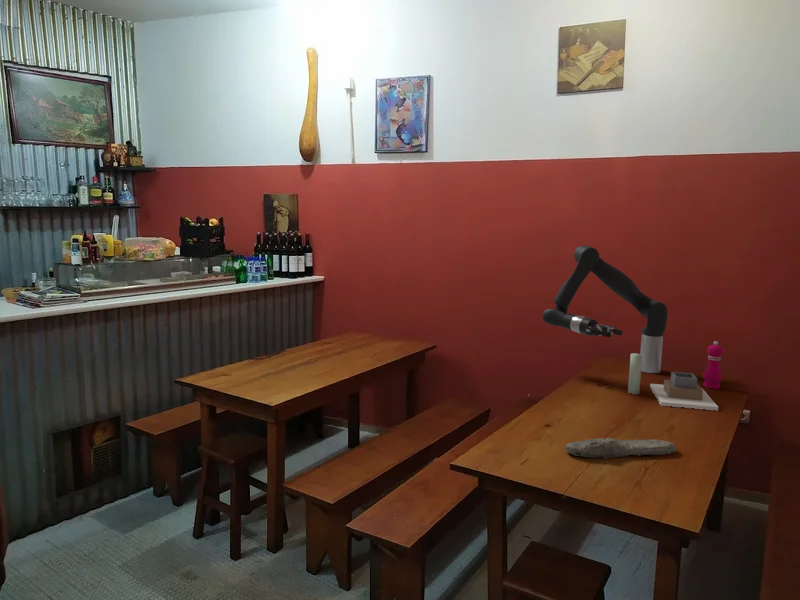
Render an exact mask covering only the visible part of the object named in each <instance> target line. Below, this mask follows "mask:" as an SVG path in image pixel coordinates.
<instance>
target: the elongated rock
mask: <svg viewBox="0 0 800 600" xmlns="http://www.w3.org/2000/svg"><path fill="white" fill-rule="evenodd" d="M675 444H676V443H675V442H671V441H669V440H661V439H623V440H621V439H615V438H613V437H606V438H605V437H601V438H588V439H586V440H585V439H584V440H579V441H573V442H568V443H567V444H566V446H565V451H566V452H567V453H569V454H570V455H573V456H574V457H584V458H591V459H595V458H596V459H598V458H600V459H601V458H603V459H604V460H605V459H612V458H615V457H616V458H621V457H623V458H624V457H628V456H629V455H632V456H637V457H640V456H646V455H648V456H663V455H670V454H675V453H676V445H675Z"/></svg>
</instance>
